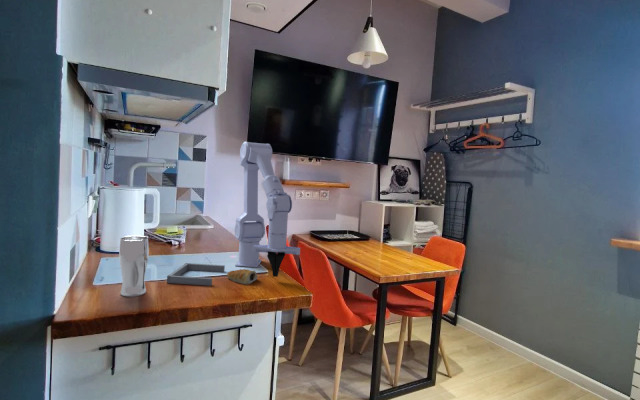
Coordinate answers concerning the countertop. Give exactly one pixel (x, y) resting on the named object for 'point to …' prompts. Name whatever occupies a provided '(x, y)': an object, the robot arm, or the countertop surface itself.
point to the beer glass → (133, 264)
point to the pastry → (242, 276)
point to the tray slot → (179, 279)
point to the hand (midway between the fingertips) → (275, 275)
